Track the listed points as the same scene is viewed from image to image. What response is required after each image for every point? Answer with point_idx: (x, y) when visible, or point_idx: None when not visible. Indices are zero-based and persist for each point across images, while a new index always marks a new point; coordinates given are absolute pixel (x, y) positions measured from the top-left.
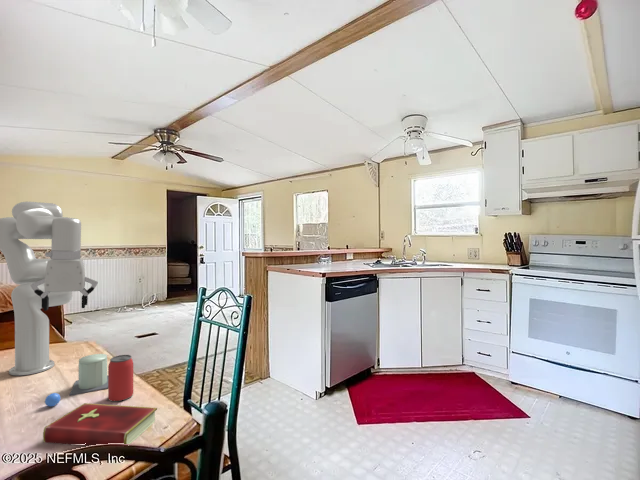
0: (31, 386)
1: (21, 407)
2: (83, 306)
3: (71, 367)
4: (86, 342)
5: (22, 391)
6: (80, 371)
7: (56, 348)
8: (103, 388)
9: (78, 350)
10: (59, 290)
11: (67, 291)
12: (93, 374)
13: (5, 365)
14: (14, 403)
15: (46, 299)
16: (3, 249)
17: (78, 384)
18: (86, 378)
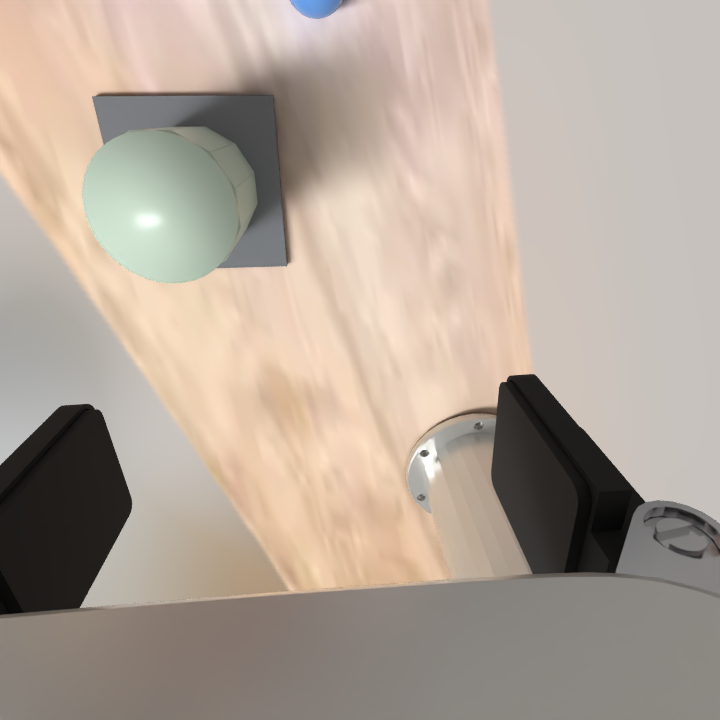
0: (443, 290)
1: (440, 49)
2: (60, 416)
3: (341, 434)
4: None
5: (466, 249)
6: (227, 159)
7: None
8: (130, 97)
9: None
10: (378, 615)
11: (168, 601)
12: (160, 128)
13: None
14: (473, 119)
15: (579, 481)
16: None
17: (263, 210)
18: (199, 131)
